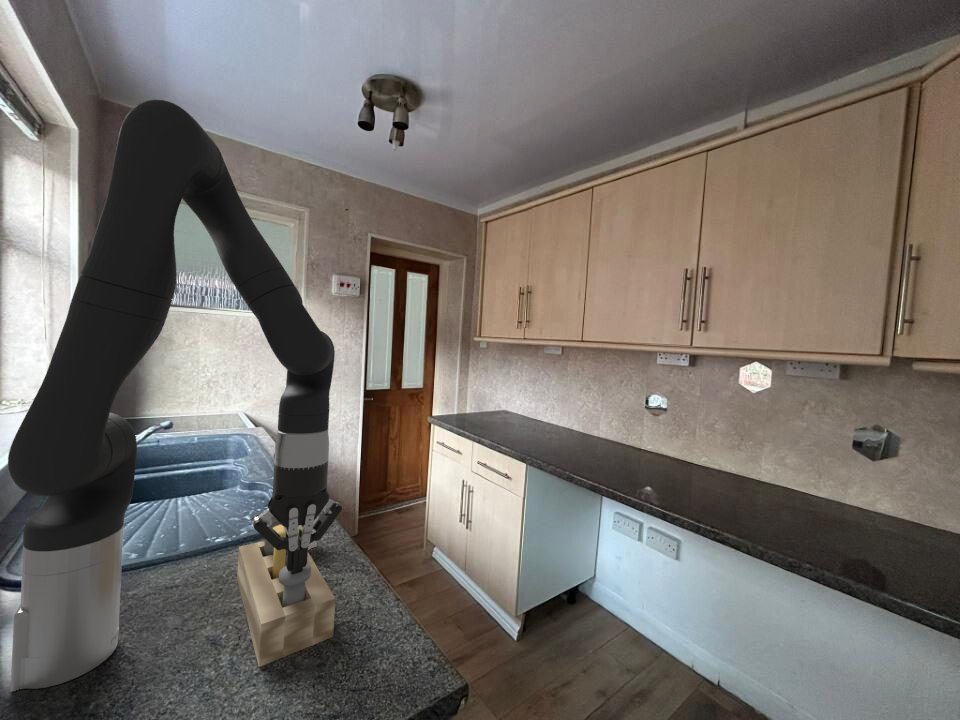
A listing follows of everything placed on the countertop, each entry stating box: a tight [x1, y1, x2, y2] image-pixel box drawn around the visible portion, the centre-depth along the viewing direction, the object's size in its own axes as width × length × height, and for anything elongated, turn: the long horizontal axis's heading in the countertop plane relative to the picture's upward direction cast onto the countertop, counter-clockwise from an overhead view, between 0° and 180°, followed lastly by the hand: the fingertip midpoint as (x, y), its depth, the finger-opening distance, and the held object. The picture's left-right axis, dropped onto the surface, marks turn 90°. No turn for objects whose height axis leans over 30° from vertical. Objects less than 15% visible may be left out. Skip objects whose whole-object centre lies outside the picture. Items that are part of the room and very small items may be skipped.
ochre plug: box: [272, 525, 299, 580], centre depth 64 cm, size 4×4×9 cm
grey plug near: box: [279, 564, 311, 608], centre depth 58 cm, size 4×4×9 cm
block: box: [236, 536, 336, 668], centre depth 64 cm, size 10×24×6 cm, turn 39°
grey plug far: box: [261, 510, 281, 557], centre depth 70 cm, size 4×4×9 cm
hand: (295, 570), depth 58 cm, fingers closed
